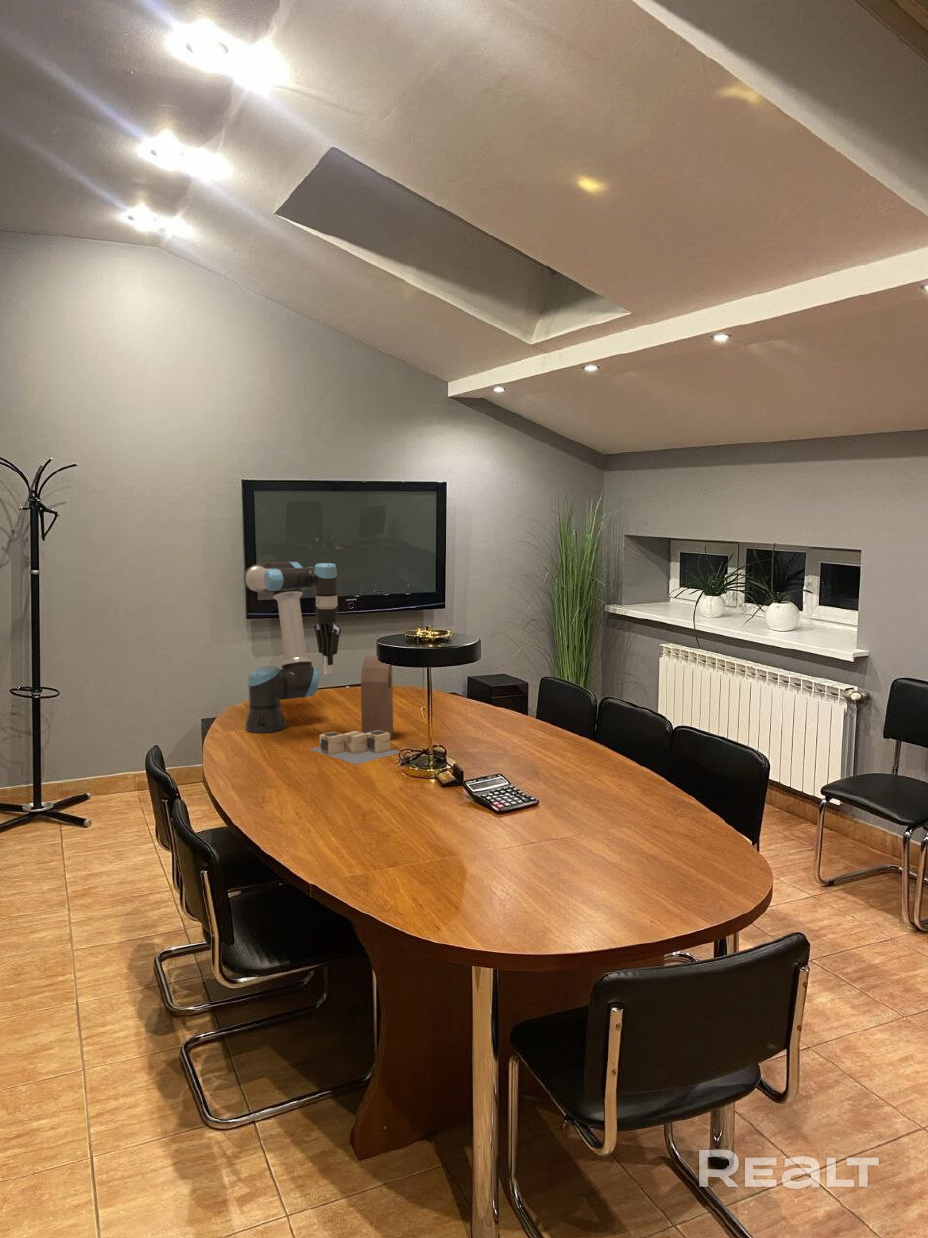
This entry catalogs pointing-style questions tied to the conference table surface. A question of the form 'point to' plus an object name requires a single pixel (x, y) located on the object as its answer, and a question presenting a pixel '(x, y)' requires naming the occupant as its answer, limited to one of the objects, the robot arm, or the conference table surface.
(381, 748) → the marked block
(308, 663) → the robot arm
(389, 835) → the conference table surface
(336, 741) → the marked block
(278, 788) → the conference table surface
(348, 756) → the mat
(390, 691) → the decorative block
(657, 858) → the conference table surface
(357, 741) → the plain block
